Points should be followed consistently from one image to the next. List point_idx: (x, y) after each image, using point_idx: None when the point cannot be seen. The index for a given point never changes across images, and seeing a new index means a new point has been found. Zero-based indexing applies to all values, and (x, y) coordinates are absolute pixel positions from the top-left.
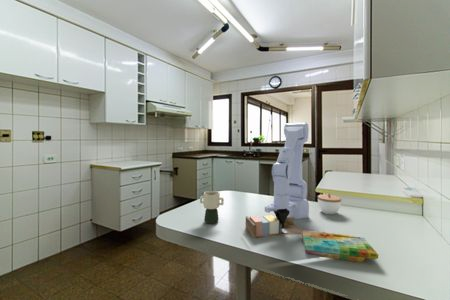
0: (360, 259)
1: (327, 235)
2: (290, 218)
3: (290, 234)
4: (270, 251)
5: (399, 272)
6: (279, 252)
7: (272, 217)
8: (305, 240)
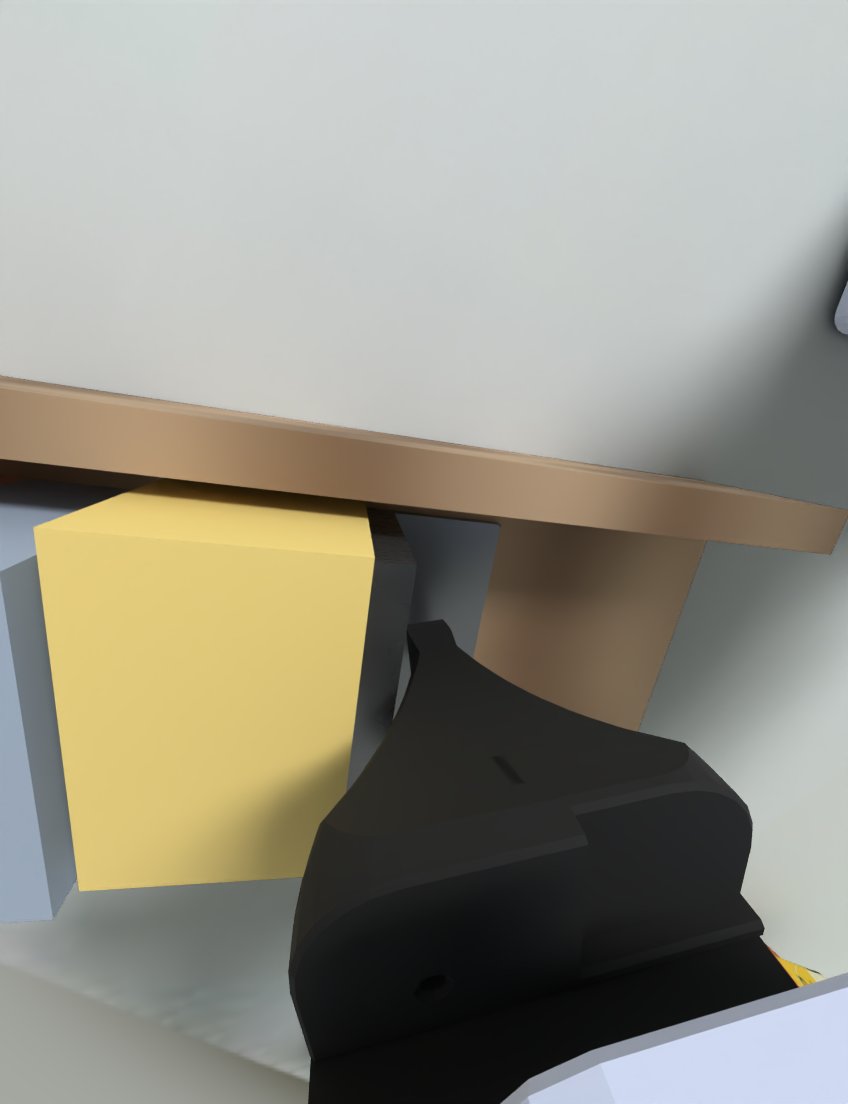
0: None
1: None
2: (754, 544)
3: None
4: (69, 926)
5: None
6: (155, 943)
7: (292, 699)
8: None
